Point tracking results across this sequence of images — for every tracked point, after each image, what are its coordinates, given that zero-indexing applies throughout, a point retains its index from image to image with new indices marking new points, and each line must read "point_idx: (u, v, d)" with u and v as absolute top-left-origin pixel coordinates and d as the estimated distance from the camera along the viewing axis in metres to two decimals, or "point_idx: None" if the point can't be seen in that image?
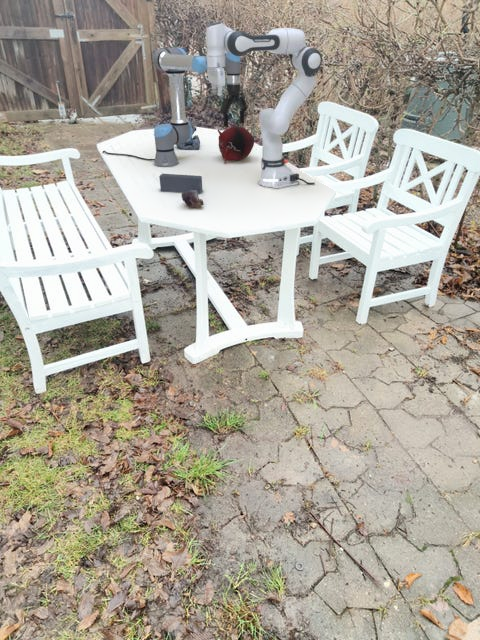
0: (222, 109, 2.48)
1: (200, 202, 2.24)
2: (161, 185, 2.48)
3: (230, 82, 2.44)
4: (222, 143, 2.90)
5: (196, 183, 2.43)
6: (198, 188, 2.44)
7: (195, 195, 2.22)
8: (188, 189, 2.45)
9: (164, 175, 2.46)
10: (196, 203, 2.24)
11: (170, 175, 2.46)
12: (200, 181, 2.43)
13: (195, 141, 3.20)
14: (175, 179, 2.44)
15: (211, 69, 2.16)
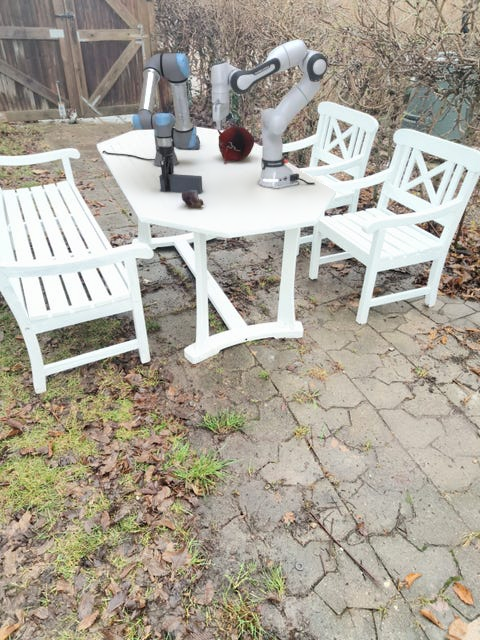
0: (164, 175, 2.40)
1: (200, 202, 2.24)
2: (161, 185, 2.48)
3: (164, 145, 2.34)
4: (222, 143, 2.90)
5: (196, 183, 2.43)
6: (198, 188, 2.44)
7: (195, 195, 2.22)
8: (188, 189, 2.45)
9: None
10: (196, 203, 2.24)
11: (170, 175, 2.46)
12: (200, 181, 2.43)
13: None
14: (175, 179, 2.44)
15: (214, 104, 2.27)
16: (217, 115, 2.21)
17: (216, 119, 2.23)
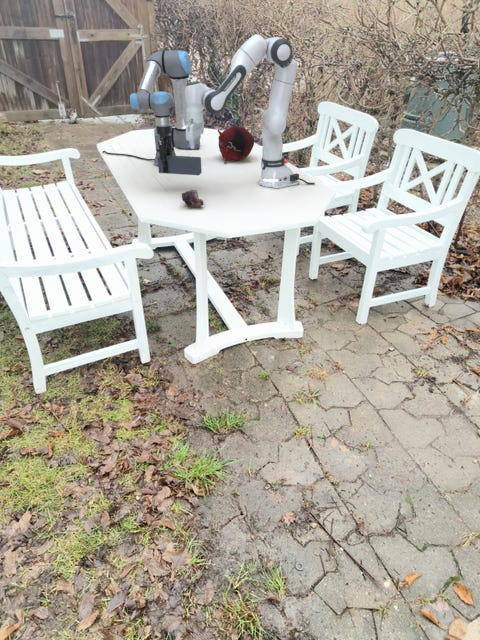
0: (162, 156, 2.35)
1: (200, 202, 2.24)
2: (159, 167, 2.42)
3: (162, 124, 2.28)
4: (222, 143, 2.90)
5: (195, 165, 2.37)
6: (197, 169, 2.38)
7: (195, 195, 2.22)
8: (187, 170, 2.40)
9: None
10: (196, 203, 2.24)
11: (169, 156, 2.40)
12: (199, 162, 2.38)
13: None
14: (174, 160, 2.38)
15: None
16: (190, 134, 2.22)
17: (189, 138, 2.24)
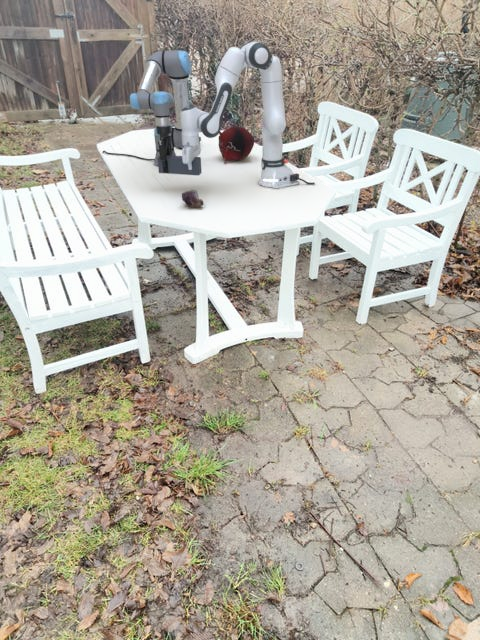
0: (162, 156, 2.35)
1: (200, 202, 2.24)
2: (159, 167, 2.42)
3: (162, 124, 2.28)
4: (222, 143, 2.90)
5: (195, 165, 2.37)
6: (197, 169, 2.38)
7: (195, 195, 2.22)
8: (187, 171, 2.40)
9: None
10: (196, 203, 2.24)
11: (169, 156, 2.40)
12: (199, 162, 2.38)
13: None
14: (174, 160, 2.38)
15: None
16: (187, 158, 2.28)
17: (186, 161, 2.29)
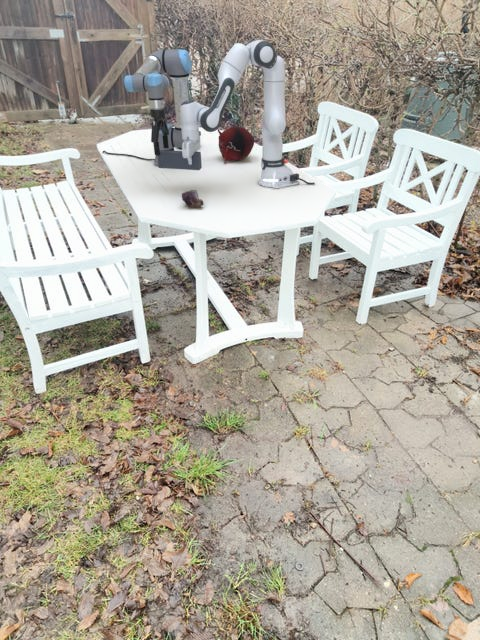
0: (153, 137, 2.27)
1: (200, 202, 2.24)
2: (159, 161, 2.40)
3: (156, 107, 2.24)
4: (222, 143, 2.90)
5: (195, 159, 2.35)
6: (197, 164, 2.37)
7: (195, 195, 2.22)
8: (187, 165, 2.38)
9: (162, 151, 2.38)
10: (196, 203, 2.24)
11: (168, 151, 2.39)
12: (199, 157, 2.36)
13: None
14: (174, 155, 2.37)
15: None
16: (186, 152, 2.27)
17: (186, 156, 2.28)
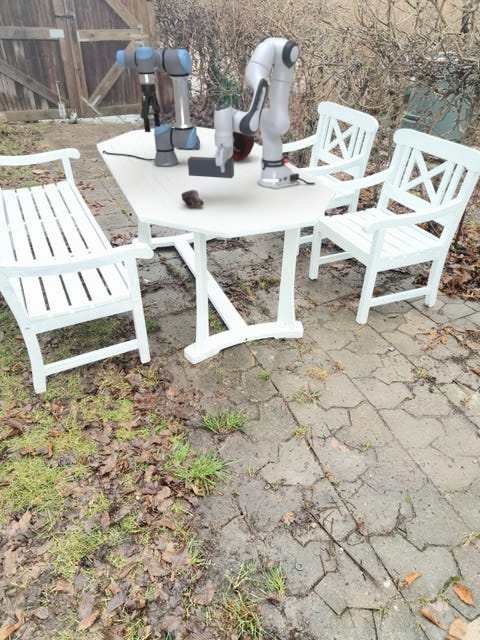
0: (143, 113, 2.21)
1: (200, 202, 2.24)
2: (189, 169, 2.28)
3: (146, 82, 2.18)
4: None
5: (228, 167, 2.23)
6: (230, 172, 2.24)
7: (195, 195, 2.22)
8: (219, 173, 2.26)
9: (193, 158, 2.27)
10: (196, 203, 2.24)
11: (200, 158, 2.27)
12: (232, 164, 2.24)
13: None
14: (205, 162, 2.25)
15: None
16: (220, 160, 2.15)
17: (219, 164, 2.16)
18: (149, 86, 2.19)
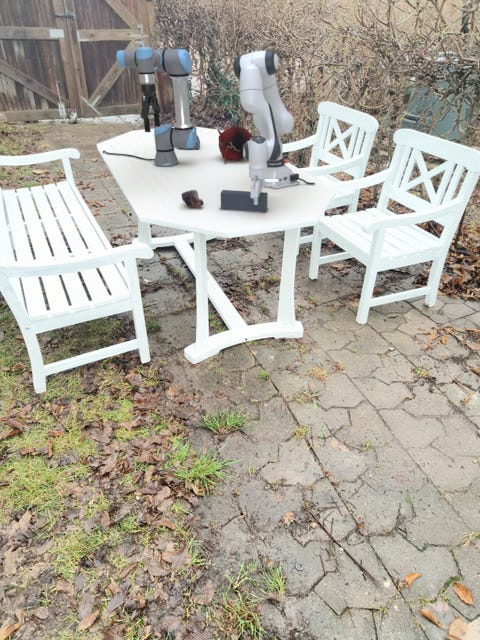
0: (143, 113, 2.21)
1: (200, 202, 2.24)
2: (222, 203, 2.24)
3: (146, 82, 2.18)
4: (222, 143, 2.90)
5: (262, 201, 2.19)
6: (264, 206, 2.21)
7: (195, 195, 2.22)
8: (252, 207, 2.22)
9: (226, 192, 2.22)
10: (196, 203, 2.24)
11: (232, 191, 2.22)
12: (266, 198, 2.20)
13: None
14: (239, 196, 2.20)
15: (251, 179, 2.15)
16: (255, 192, 2.10)
17: (254, 196, 2.11)
18: (149, 86, 2.19)
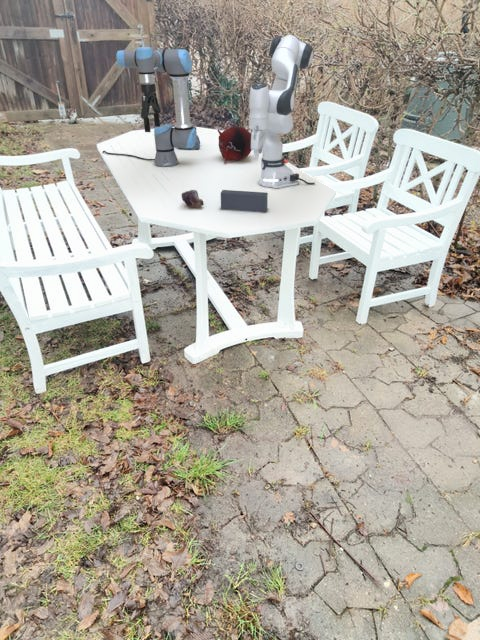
0: (143, 113, 2.21)
1: (200, 202, 2.24)
2: (222, 203, 2.24)
3: (146, 82, 2.18)
4: (222, 143, 2.90)
5: (262, 201, 2.19)
6: (264, 206, 2.21)
7: (195, 195, 2.22)
8: (252, 207, 2.22)
9: (226, 192, 2.22)
10: (196, 203, 2.24)
11: (232, 191, 2.22)
12: (266, 198, 2.20)
13: None
14: (239, 196, 2.20)
15: (252, 130, 2.03)
16: (256, 143, 1.97)
17: (255, 148, 1.98)
18: (149, 86, 2.19)
